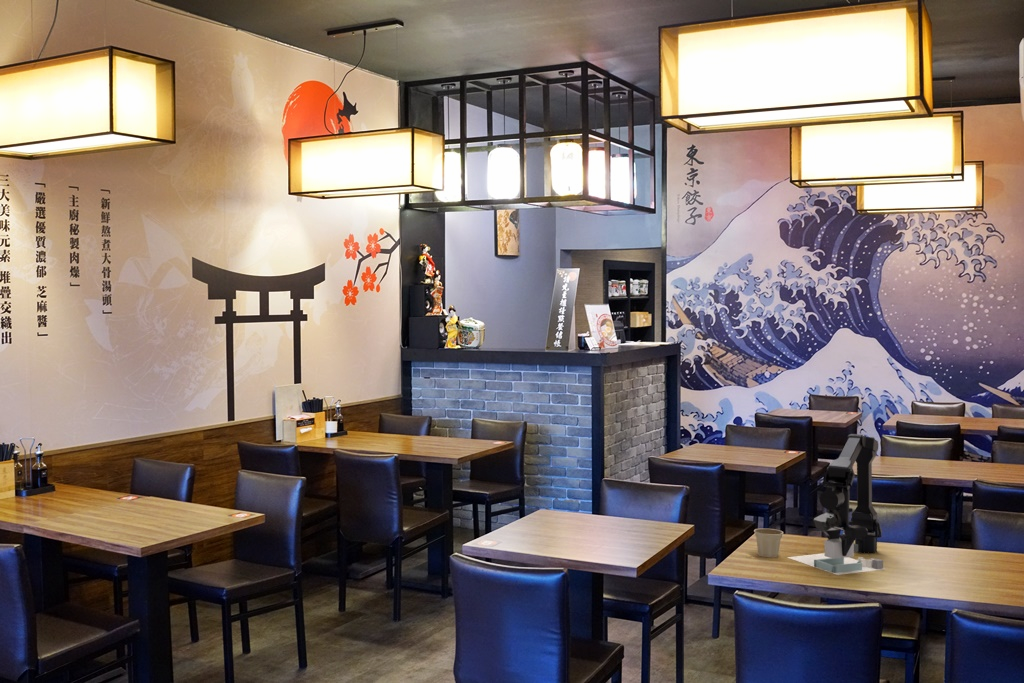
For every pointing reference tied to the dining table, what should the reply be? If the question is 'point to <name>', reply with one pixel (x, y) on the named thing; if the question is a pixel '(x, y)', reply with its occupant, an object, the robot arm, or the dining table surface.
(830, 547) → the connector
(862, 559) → the clips
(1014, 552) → the dining table surface
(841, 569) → the holder
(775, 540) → the flower pot
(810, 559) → the board
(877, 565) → the grey blocky piece
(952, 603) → the dining table surface
